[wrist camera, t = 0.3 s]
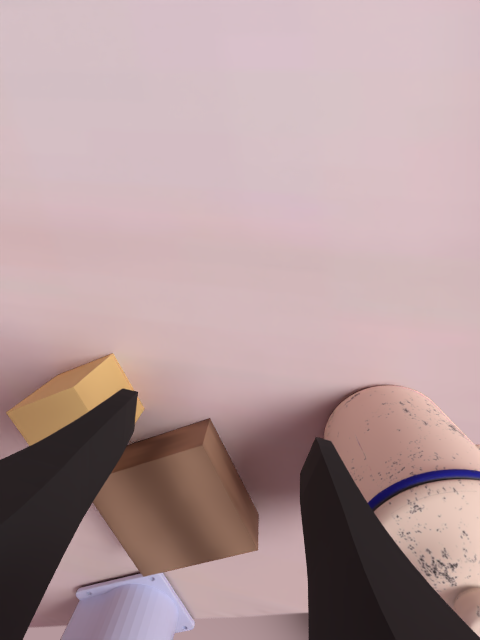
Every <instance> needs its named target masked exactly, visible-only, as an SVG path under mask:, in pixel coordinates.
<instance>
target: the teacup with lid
mask: <svg viewBox="0 0 480 640" xmlns="http://www.w3.org/2000/svg"><path fill="white" fill-rule="evenodd" d="M324 439H325V440H329V441H331V442H332V443H333V445H334V447H335V449H336V450H337V452H338V454H339V456H340V457H341V459H342V461H343V463H344V464H345V466H346V468H347V470H348V471H349V473H350V475H351V477H352V478H353V480H354V482H355V483H356V485H357V487H358V488H359V490H360V492H361V493H362V495H363V496H364V498H365V500H366V501H367V503H368V504H369V506H370V507H371V509H372V510H373V512H374V513H375V515H376V516H377V518H378V519H379V521H380V522H381V523H382V525H383V526H384V528H385V529H386V530H387V532H388V533H389V535H390V536H391V537H392V538H393V540H394V541H395V542H396V544H397V545H398V546H399V548H400V549H401V550H402V552H403V553H404V554H405V555H406V557H407V558H408V559H409V560H410V562H411V563H412V564H413V565H414V566H415V568H416V569H417V570H418V571H419V572H420V573H421V575H422V576H423V577H424V578H425V579H426V580H427V582H428V583H429V584H430V585H431V586H432V587H433V589H434V590H435V591H436V592H437V593H438V594H439V595H440V596H441V597H442V598H443V600H444V601H445V602H446V603H447V604H448V605H449V606H450V607H451V608H452V609H453V610H454V611H455V612H456V613H457V614H458V615H459V617H460V618H461V619H462V620H463V621H464V622H465V623H466V624H467V625H468V626H469V627H470V628H471V629H472V630H473V631H474V632H475V633H476V634H477V635H478V636H479V637H480V445H474V444H473V443H472V442H471V441H470V440H469V439H468V437H467V436H466V435H465V434H464V433H463V432H462V431H461V430H460V429H459V428H458V427H457V426H456V425H455V424H454V423H453V422H452V421H451V420H450V419H449V418H448V417H447V416H446V415H445V414H444V413H443V412H442V410H441V409H440V408H439V407H438V406H437V405H436V404H435V403H434V402H433V401H432V400H430V399H429V398H428V397H426V396H425V395H423V394H422V393H420V392H418V391H415V390H413V389H410V388H406V387H401V386H394V385H384V386H375V387H371V388H367V389H364V390H361V391H359V392H357V393H355V394H353V395H351V396H350V397H348V398H347V399H345V400H344V401H343V402H341V403H340V404H339V405H338V406H337V408H336V409H335V410H334V411H333V413H332V414H331V416H330V418H329V419H328V422H327V424H326V427H325V432H324Z"/></svg>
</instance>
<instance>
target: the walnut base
mask: <svg viewBox="0 0 480 640" xmlns="http://www.w3.org/2000/svg"><path fill="white" fill-rule="evenodd" d="M93 503H94V505H95V506H96V508H97V509H98V511H99V512H100V514H101V515H102V517H103V518H104V520H105V521H106V523H107V524H108V526H109V527H110V528H111V530H112V531H113V533H114V534H115V536H116V537H117V539H118V540H119V542H120V543H121V545H122V546H123V548H124V549H125V551H126V552H127V554H128V555H129V557H130V558H131V559H132V561H133V562H134V564H135V565H136V567H137V568H138V570H139V571H140V573H141V574H142V576H143V577H145V576H150V575H154V574H158V573H162V572H167V571H171V570H175V569H179V568H184V567H188V566H192V565H197V564H201V563H205V562H209V561H214V560H218V559H222V558H226V557H231V556H235V555H239V554H244V553H248V552H252V551H256V550H258V519H259V514H258V512H257V510H256V508H255V506H254V504H253V502H252V500H251V498H250V496H249V494H248V493H247V491H246V489H245V487H244V485H243V483H242V481H241V479H240V477H239V475H238V473H237V471H236V469H235V467H234V465H233V463H232V461H231V459H230V457H229V455H228V453H227V451H226V449H225V447H224V445H223V443H222V441H221V439H220V437H219V435H218V433H217V431H216V429H215V427H214V425H213V423H212V421H211V419H207V420H204V421H201V422H198V423H195V424H192V425H188V426H185V427H182V428H179V429H176V430H173V431H170V432H167V433H164V434H161V435H158V436H155V437H152V438H149V439H146V440H142V441H139V442H136V443H133V444H130V445H127V447H126V449H125V451H124V453H123V455H122V456H121V458H120V460H119V461H118V463H117V464H116V466H115V468H114V469H113V471H112V472H111V474H110V476H109V477H108V479H107V480H106V482H105V483H104V485H103V487H102V488H101V490H100V491H99V493H98V494H97V496H96V498H95V499H94V501H93Z"/></svg>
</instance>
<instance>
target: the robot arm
mask: <svg viewBox="0 0 480 640" xmlns="http://www.w3.org/2000/svg"><path fill="white" fill-rule="evenodd" d="M137 396H138V392H136V391H132V390H128V389H124V388H123V389H121V390H119V391H118V392H116V393H115V394H113V395H112V396H111V397H109V398H108V399H106V400H105V401H103V402H102V403H101V404H99V405H98V406H96V407H95V408H93V409H92V410H90V411H89V412H87V413H86V414H84V415H83V416H81V417H79V418H78V419H76V420H75V421H73V422H72V423H70V424H68V425H67V426H65V427H63V428H61V429H60V430H58V431H56V432H55V433H53V434H51V435H50V436H48V437H46V438H44V439H42V440H40V441H39V442H37V443H35V444H33V445H31V446H29V447H27V448H25V449H23V450H21V451H19V452H17V453H15V454H12V455H10V456H8V457H6V458H4V459H1V460H0V640H23V638H24V635H25V633H26V631H27V629H28V627H29V625H30V623H31V620H32V618H33V616H34V614H35V612H36V610H37V608H38V606H39V604H40V602H41V600H42V598H43V596H44V594H45V591H46V589H47V587H48V585H49V583H50V581H51V579H52V577H53V575H54V573H55V571H56V569H57V567H58V565H59V563H60V561H61V559H62V557H63V555H64V553H65V551H66V549H67V547H68V545H69V544H70V542H71V540H72V538H73V536H74V534H75V532H76V530H77V528H78V526H79V524H80V522H81V521H82V519H83V517H84V516H85V514H86V512H87V510H88V509H89V507H90V506H91V504H92V502H93V501H94V499H95V498H96V496H97V494H98V493H99V491H100V490H101V488H102V487H103V485H104V483H105V482H106V480H107V479H108V477H109V476H110V474H111V472H112V471H113V469H114V468H115V466H116V464H117V463H118V461H119V460H120V458H121V456H122V455H123V453H124V451H125V449H126V447H127V444H128V442H129V440H130V438H131V436H132V434H133V432H134V426H135V416H136V406H137ZM300 505H301V515H302V525H303V535H304V544H305V553H306V563H307V575H308V608H309V640H480V637H479V636H478V635H477V634H476V633H475V632H474V631H473V630H472V629H471V628H470V627H469V626H468V625H467V624H466V623H465V622H464V621H463V620H462V619H461V618H460V617H459V615H458V614H457V613H456V612H455V611H454V610H453V609H452V608H451V607H450V606H449V605H448V604H447V603H446V602H445V601H444V600H443V598H442V597H441V596H440V595H439V594H438V593H437V592H436V591H435V590H434V589H433V587H432V586H431V585H430V584H429V583H428V582H427V580H426V579H425V578H424V577H423V576H422V575H421V573H420V572H419V571H418V570H417V569H416V568H415V566H414V565H413V564H412V563H411V562H410V560H409V559H408V558H407V557H406V555H405V554H404V553H403V552H402V550H401V549H400V548H399V546H398V545H397V544H396V542H395V541H394V540H393V538H392V537H391V536H390V535H389V533H388V532H387V530H386V529H385V528H384V526H383V525H382V523H381V522H380V521H379V519H378V518H377V516H376V515H375V513H374V512H373V510H372V509H371V507H370V506H369V504H368V503H367V501H366V500H365V498H364V496H363V495H362V493H361V492H360V490H359V488H358V487H357V485H356V483H355V482H354V480H353V478H352V477H351V475H350V473H349V471H348V470H347V468H346V466H345V464H344V463H343V461H342V459H341V457H340V456H339V454H338V452H337V450H336V449H335V447H334V445H333V443H332V442H331V441H329V440H325V439H321V438H317V437H316V438H315V441H314V443H313V445H312V447H311V450H310V452H309V454H308V457H307V459H306V461H305V463H304V466H303V468H302V470H301V473H300ZM76 596H77V598H78V599H79V600H80V601H79V603H78V605H77V607H76V609H75V611H74V613H73V615H72V617H71V619H70V621H69V623H68V625H67V627H66V629H65V631H64V633H63V635H62V637H61V639H60V640H173V637H174V633H177V632H183V631H188V630H192V629H193V628H194V625H195V622H194V620H193V619H192V617H191V616H190V614H189V613H188V611H187V609H186V608H185V606H184V605H183V603H182V602H181V600H180V599H179V597H178V596H177V594H176V593H175V591H174V589H173V588H172V586H171V585H170V583H169V582H168V580H167V579H166V577H165V576H164V574H163V573H158V574H154V575H150V576H145V577H143V576H142V574H141V573H140V574H136V575H132V576H128V577H124V578H119V579H115V580H111V581H107V582H102V583H98V584H94V585H90V586H86V587H81V588H79V589H78V590H77V592H76Z"/></svg>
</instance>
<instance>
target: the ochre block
mask: <svg viewBox="0 0 480 640" xmlns="http://www.w3.org/2000/svg"><path fill="white" fill-rule="evenodd" d="M123 388H124V389H128V390H132V391H134V390H133V388H132V386H131V384H130V383H129V381H128V379H127V377H126V375H125V374H124V372H123V370H122V368H121V367H120V365H119V363H118V361H117V360H116V358H115V356H114V354H113V353H112V354H110V355H107V356H105V357H102V358H100V359H97V360H95V361H92V362H89V363H87V364H84V365H82V366H79V367H77V368H74V369H72V370H69V371H67V372H64V373H62V374H59V375H57V376H56V377H54V378H53V379H51V380H50V381H49V382H47V383H46V384H45V385H43V386H42V387H40V388H39V389H38V390H36V391H35V392H34V393H32V394H31V395H30V396H28V397H27V398H25V399H24V400H23V401H21V402H20V403H19V404H17V405H16V406H14V407H13V408H12V409H10V410H9V411H8V412H6V413H7V415H8V416H9V417H10V419H11V420H12V422H13V423H14V424H15V426H16V427H17V429H18V430H19V432H20V433H21V434H22V436H23V437H24V439H25V440H26V441H27V443H28V444H29V446H31V445H33V444H35V443H37V442H39V441H40V440H42V439H44V438H46V437H48V436H50V435H51V434H53V433H55V432H56V431H58V430H60V429H61V428H63V427H65V426H67V425H68V424H70V423H72V422H73V421H75V420H76V419H78V418H79V417H81V416H83V415H84V414H86V413H87V412H89V411H90V410H92V409H93V408H95V407H96V406H98V405H99V404H101V403H102V402H103V401H105V400H106V399H108V398H109V397H111V396H112V395H113V394H115V393H116V392H118V391H119V390H121V389H123ZM143 410H144V407H143V406H142V404H141V402H140V400H139V398H138V397H137V406H136V416H135V423H136V421H137V420H138V418H139V417H140V415H141V414H142V412H143Z"/></svg>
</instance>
